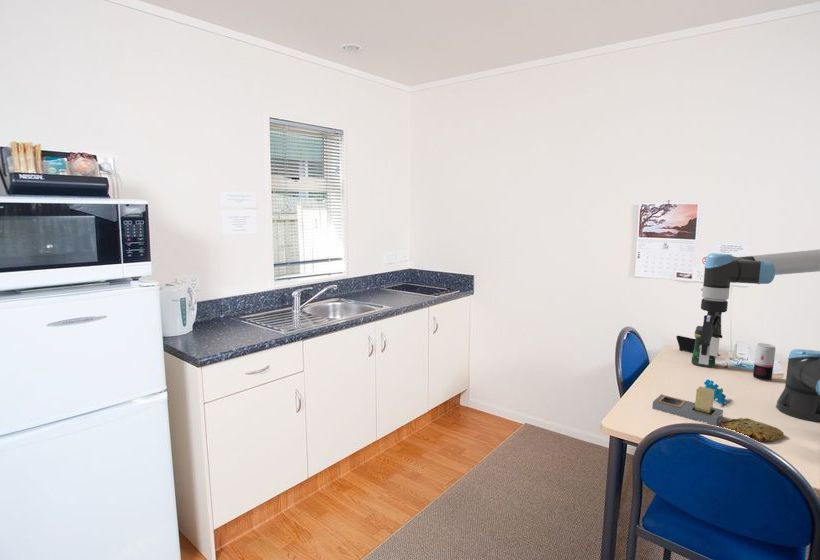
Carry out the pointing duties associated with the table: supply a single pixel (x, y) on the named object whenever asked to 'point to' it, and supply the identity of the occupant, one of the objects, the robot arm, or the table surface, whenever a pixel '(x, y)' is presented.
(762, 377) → the beverage can
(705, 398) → the brass peg
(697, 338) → the coffee jar
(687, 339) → the game console
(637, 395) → the table surface
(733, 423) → the pastry
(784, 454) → the table surface
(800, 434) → the table surface
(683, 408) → the grey block
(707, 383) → the blue irregular branched piece
